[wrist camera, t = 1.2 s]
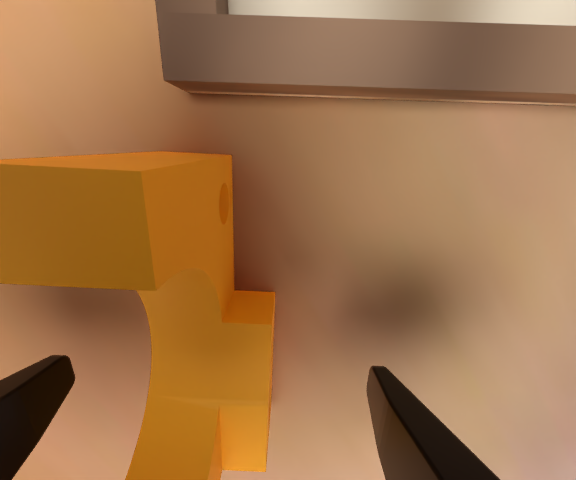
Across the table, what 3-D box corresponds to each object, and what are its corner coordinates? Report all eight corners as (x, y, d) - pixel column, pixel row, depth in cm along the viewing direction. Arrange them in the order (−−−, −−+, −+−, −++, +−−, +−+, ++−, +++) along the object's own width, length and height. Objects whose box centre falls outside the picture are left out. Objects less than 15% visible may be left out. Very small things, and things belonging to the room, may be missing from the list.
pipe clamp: (271, 400, 14) (255, 598, 8) (186, 396, 14) (106, 592, 8) (280, 157, 10) (263, 177, 4) (162, 150, 10) (-44, 162, 4)
